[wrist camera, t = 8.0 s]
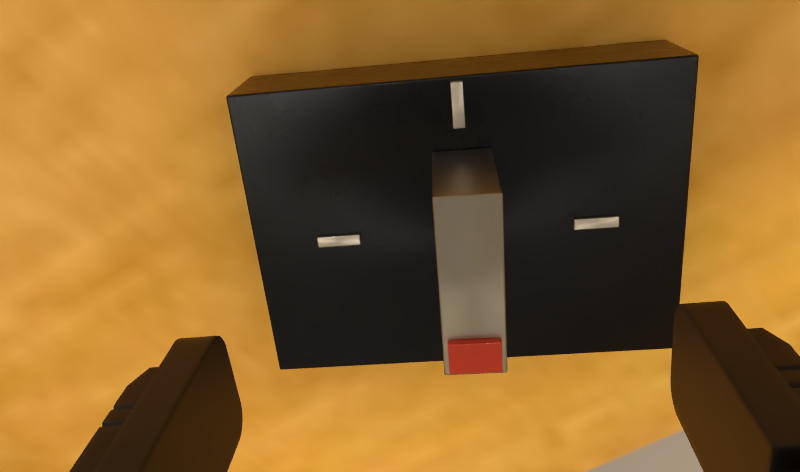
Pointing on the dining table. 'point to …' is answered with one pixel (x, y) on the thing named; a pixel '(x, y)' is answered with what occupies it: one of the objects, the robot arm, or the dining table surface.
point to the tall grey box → (470, 261)
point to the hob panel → (520, 182)
